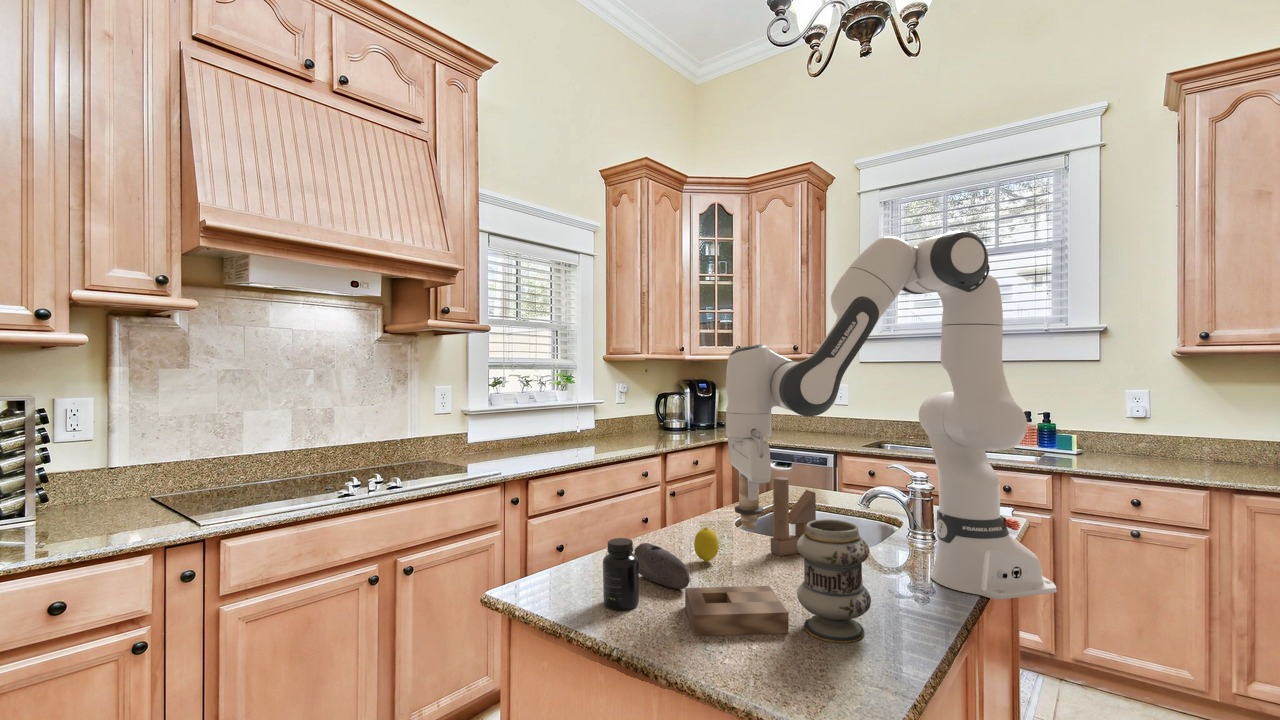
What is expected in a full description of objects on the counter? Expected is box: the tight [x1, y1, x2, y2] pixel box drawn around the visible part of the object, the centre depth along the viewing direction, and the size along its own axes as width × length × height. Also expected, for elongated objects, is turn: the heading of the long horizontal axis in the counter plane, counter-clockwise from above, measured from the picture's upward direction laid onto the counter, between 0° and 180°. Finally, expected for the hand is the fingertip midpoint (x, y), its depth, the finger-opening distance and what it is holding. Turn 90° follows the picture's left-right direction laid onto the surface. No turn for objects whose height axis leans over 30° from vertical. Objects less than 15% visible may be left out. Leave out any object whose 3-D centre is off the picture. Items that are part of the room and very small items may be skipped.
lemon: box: [693, 527, 719, 563], centre depth 137 cm, size 6×6×8 cm
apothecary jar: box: [796, 518, 872, 644], centre depth 102 cm, size 12×12×18 cm
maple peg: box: [734, 475, 764, 530], centre depth 119 cm, size 6×6×10 cm
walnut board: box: [684, 585, 790, 637], centre depth 107 cm, size 16×12×4 cm
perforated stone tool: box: [633, 542, 691, 590], centre depth 124 cm, size 15×5×7 cm, turn 38°
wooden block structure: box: [770, 476, 817, 557], centre depth 144 cm, size 4×11×18 cm, turn 112°
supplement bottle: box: [602, 537, 640, 612], centre depth 114 cm, size 7×7×12 cm
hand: (749, 496), depth 119 cm, fingers closed on maple peg, 4 cm apart
